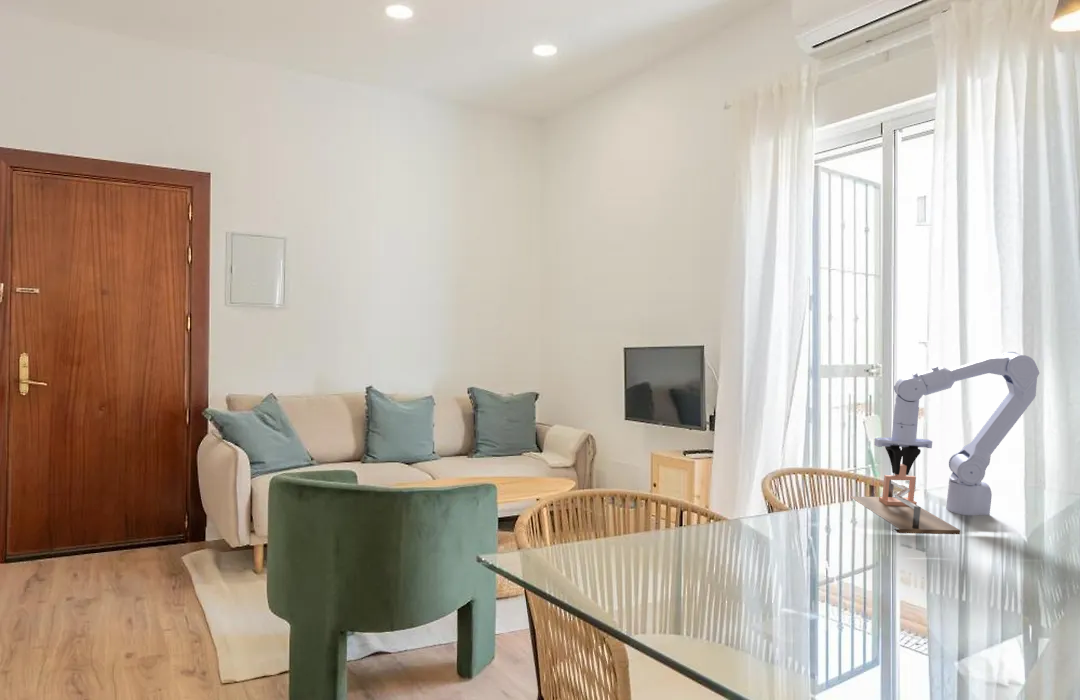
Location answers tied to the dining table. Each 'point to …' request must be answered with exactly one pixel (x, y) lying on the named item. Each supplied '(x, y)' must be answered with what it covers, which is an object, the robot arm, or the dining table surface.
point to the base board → (907, 517)
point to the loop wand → (901, 476)
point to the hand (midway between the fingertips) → (900, 473)
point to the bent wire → (905, 501)
